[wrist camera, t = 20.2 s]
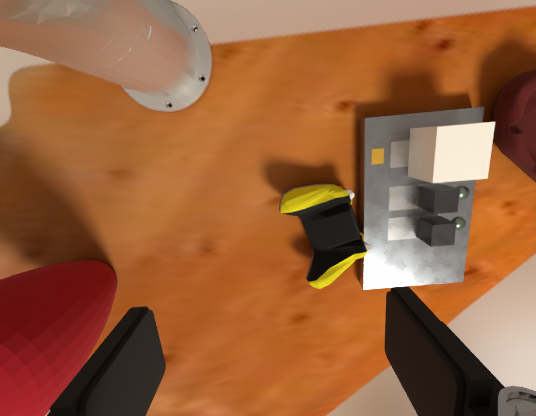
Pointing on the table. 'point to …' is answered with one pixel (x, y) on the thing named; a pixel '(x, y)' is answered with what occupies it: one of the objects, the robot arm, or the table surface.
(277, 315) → the table surface
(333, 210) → the gaming controller
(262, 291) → the table surface
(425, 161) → the chalk-white cube
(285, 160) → the table surface
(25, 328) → the vase
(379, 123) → the panel
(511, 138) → the ashtray
